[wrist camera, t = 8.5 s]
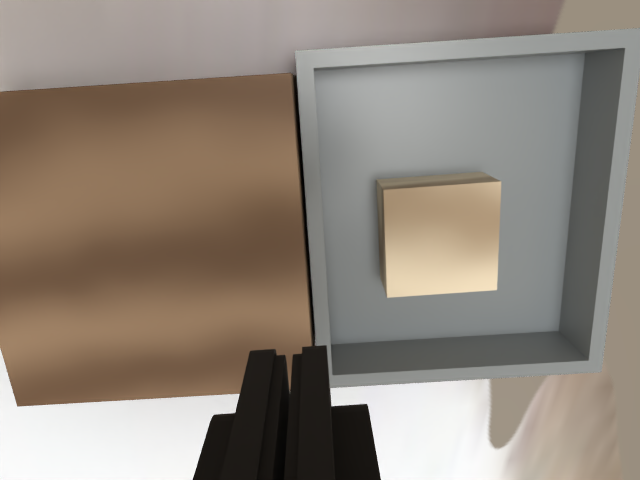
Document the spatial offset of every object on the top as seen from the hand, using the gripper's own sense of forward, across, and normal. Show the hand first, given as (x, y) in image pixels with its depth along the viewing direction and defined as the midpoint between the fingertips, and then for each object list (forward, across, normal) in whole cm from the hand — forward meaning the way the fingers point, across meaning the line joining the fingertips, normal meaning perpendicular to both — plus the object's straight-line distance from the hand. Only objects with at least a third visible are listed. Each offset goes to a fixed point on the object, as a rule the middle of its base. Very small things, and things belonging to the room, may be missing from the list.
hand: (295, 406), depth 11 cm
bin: (+19, -8, +1) cm, 21 cm away
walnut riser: (+19, +8, +1) cm, 21 cm away
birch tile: (+15, -7, +2) cm, 17 cm away
